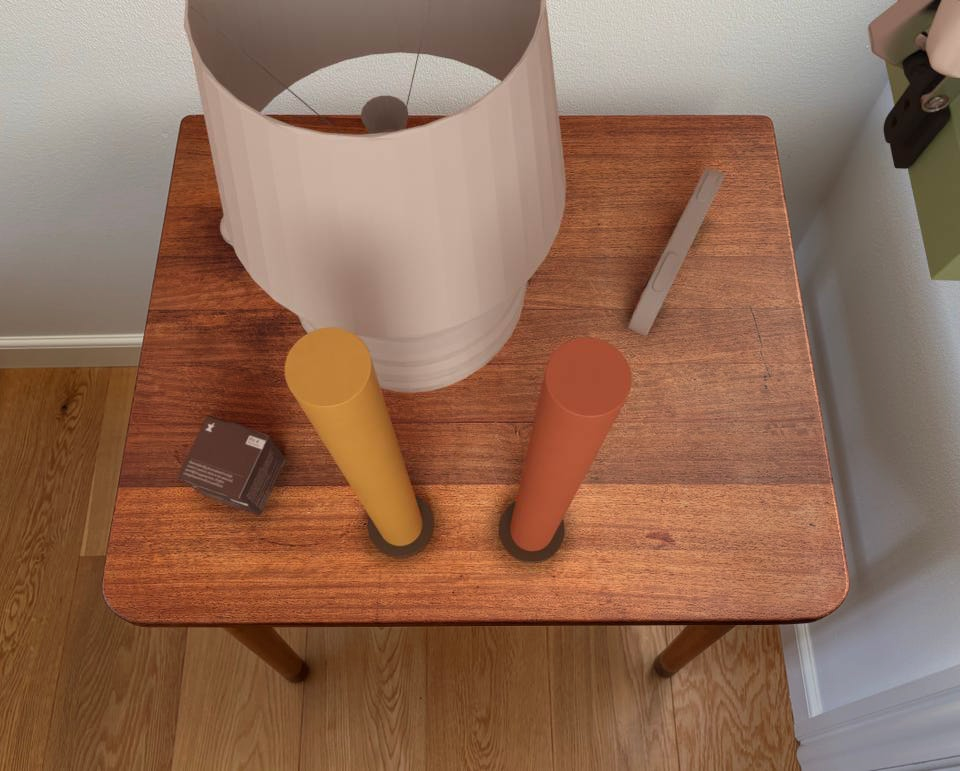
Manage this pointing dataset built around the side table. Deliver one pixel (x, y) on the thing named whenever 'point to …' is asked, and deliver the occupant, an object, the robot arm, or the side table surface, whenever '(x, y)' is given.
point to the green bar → (937, 188)
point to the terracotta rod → (563, 443)
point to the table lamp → (388, 175)
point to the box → (233, 465)
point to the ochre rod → (359, 435)
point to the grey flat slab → (675, 252)
